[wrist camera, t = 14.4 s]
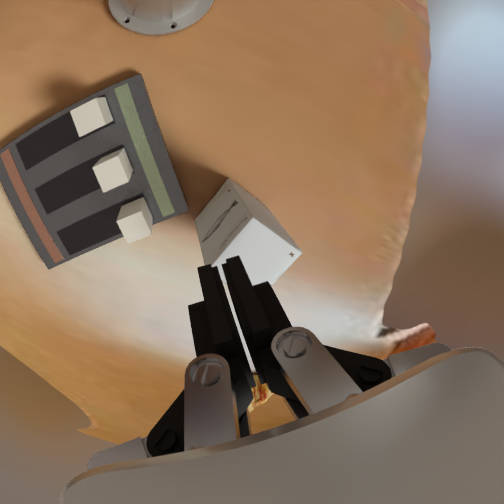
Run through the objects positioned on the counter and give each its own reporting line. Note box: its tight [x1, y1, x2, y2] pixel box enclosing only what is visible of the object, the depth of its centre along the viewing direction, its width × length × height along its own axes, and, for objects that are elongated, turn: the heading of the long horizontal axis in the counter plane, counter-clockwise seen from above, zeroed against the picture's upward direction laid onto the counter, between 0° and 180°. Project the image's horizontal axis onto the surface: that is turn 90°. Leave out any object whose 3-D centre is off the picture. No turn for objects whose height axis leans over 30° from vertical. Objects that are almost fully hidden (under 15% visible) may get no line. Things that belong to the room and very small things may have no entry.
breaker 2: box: [92, 148, 133, 193], centre depth 29 cm, size 3×3×4 cm
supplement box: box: [195, 178, 302, 286], centre depth 35 cm, size 7×7×13 cm
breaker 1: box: [70, 97, 113, 137], centre depth 26 cm, size 3×3×4 cm
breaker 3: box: [116, 197, 153, 244], centre depth 33 cm, size 3×3×4 cm
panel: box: [0, 74, 189, 270], centre depth 32 cm, size 18×22×2 cm
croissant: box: [248, 375, 274, 413], centre depth 59 cm, size 21×10×8 cm, turn 101°
